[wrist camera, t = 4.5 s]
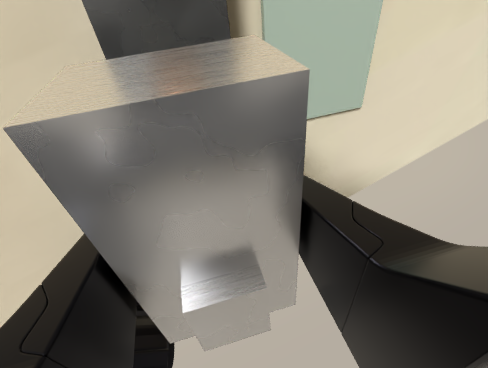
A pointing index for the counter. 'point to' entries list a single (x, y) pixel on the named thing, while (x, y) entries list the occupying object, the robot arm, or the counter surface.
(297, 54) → the mat
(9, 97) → the counter surface
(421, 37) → the counter surface
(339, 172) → the counter surface
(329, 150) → the counter surface
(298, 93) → the lever cap
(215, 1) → the hand plane
